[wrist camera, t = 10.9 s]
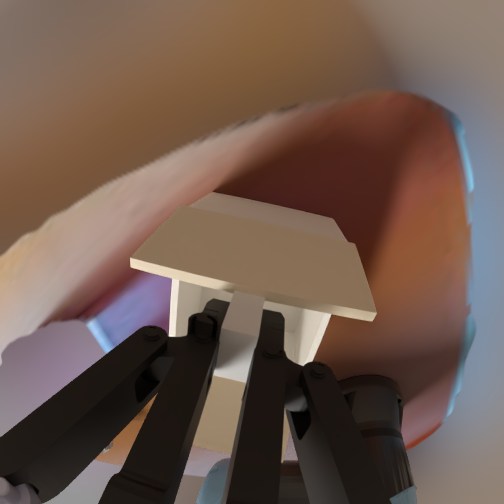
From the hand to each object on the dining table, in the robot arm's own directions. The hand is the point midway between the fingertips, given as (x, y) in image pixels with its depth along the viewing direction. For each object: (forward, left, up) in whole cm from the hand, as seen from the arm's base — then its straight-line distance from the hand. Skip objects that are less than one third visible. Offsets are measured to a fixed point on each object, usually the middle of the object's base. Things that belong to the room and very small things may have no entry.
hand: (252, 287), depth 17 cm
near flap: (0, -2, 0) cm, 2 cm away
